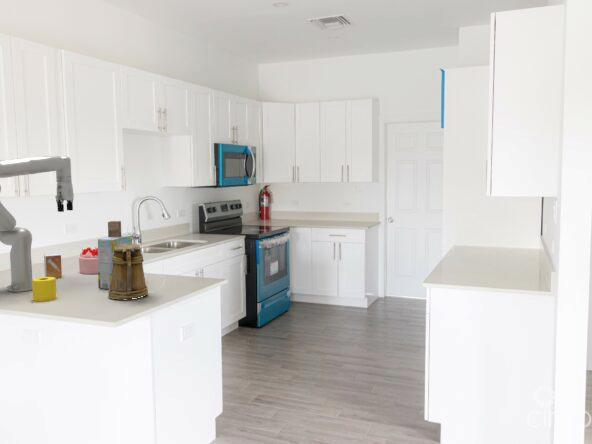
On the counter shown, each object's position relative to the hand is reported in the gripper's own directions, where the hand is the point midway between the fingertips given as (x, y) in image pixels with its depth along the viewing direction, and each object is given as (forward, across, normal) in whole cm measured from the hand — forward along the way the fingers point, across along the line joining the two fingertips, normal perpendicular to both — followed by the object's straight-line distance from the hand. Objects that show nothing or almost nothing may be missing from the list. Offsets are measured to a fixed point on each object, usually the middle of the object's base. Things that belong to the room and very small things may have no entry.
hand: (65, 210), depth 289 cm
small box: (+38, +6, +12) cm, 41 cm away
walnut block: (+13, -11, -32) cm, 36 cm away
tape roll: (+39, -42, -10) cm, 58 cm away
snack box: (+39, -11, -32) cm, 51 cm away
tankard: (+38, -37, -49) cm, 72 cm away
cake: (+39, +26, -5) cm, 47 cm away
